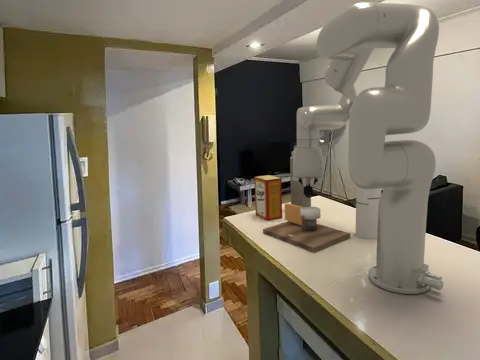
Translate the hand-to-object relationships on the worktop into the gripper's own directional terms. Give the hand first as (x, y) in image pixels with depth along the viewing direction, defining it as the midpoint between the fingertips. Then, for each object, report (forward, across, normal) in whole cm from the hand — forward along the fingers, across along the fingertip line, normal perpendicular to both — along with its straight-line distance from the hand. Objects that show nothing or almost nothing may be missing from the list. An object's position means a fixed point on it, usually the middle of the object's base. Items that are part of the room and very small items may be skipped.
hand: (307, 196), depth 112 cm
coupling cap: (+8, +2, +6) cm, 10 cm away
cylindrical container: (+10, -18, +10) cm, 23 cm away
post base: (+10, +1, +11) cm, 15 cm away
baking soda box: (+11, +15, -10) cm, 21 cm away
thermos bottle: (+11, +2, -17) cm, 20 cm away
